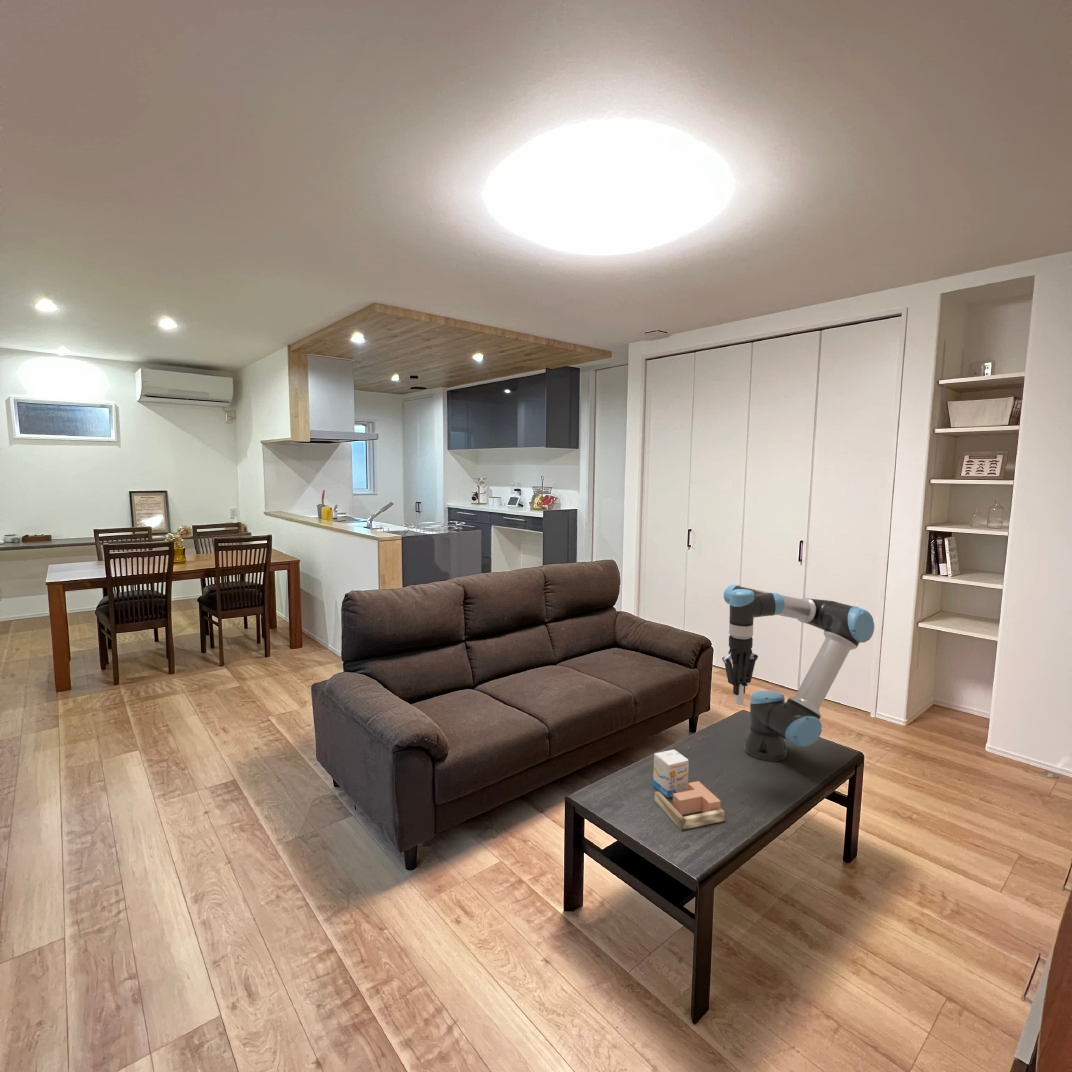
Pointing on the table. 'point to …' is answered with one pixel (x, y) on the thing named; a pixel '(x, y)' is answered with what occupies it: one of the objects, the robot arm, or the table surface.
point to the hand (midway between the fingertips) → (738, 703)
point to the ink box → (670, 772)
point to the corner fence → (688, 820)
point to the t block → (695, 800)
